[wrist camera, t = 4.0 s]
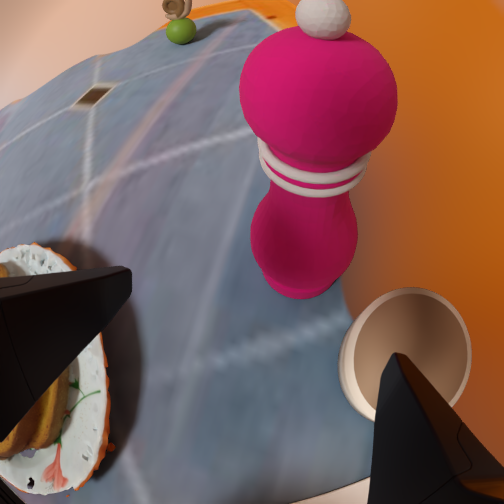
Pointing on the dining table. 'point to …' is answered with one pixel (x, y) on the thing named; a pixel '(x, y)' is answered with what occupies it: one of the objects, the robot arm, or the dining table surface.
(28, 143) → the dining table surface
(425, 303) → the round bowl
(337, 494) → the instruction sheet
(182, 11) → the snail figurine
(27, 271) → the food on plate
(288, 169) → the pepper mill
